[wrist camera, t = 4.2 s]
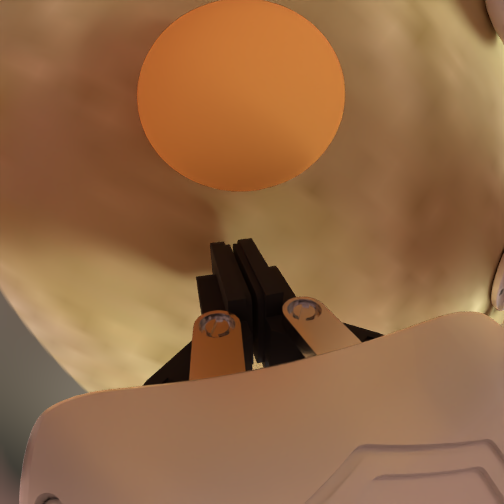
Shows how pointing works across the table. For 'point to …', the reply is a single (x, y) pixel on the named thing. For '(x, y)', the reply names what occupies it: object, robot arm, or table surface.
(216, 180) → the ball
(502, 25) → the donut
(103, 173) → the table surface
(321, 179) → the table surface
